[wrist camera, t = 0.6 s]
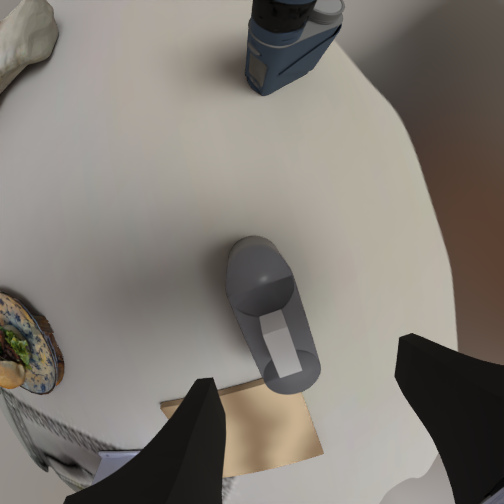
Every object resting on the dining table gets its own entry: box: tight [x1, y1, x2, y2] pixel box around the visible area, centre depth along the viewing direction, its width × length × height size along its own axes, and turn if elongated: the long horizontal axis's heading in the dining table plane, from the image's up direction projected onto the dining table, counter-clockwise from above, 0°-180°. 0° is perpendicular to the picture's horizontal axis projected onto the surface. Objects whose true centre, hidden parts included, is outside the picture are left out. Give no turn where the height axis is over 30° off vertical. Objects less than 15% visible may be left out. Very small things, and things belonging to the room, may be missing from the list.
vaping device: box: [245, 0, 345, 96], centre depth 10 cm, size 3×5×12 cm, turn 125°
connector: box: [226, 236, 321, 395], centre depth 16 cm, size 4×10×7 cm, turn 19°
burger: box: [0, 292, 64, 395], centre depth 16 cm, size 12×12×8 cm
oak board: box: [160, 378, 324, 478], centre depth 22 cm, size 12×13×1 cm
